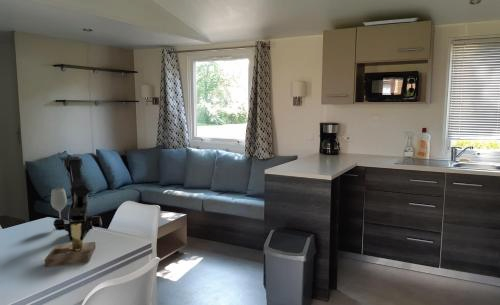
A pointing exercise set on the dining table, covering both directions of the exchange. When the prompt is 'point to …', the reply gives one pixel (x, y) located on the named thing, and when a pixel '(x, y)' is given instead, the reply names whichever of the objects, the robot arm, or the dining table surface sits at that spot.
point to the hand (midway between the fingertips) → (76, 240)
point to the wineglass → (58, 200)
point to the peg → (76, 236)
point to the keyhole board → (70, 254)
